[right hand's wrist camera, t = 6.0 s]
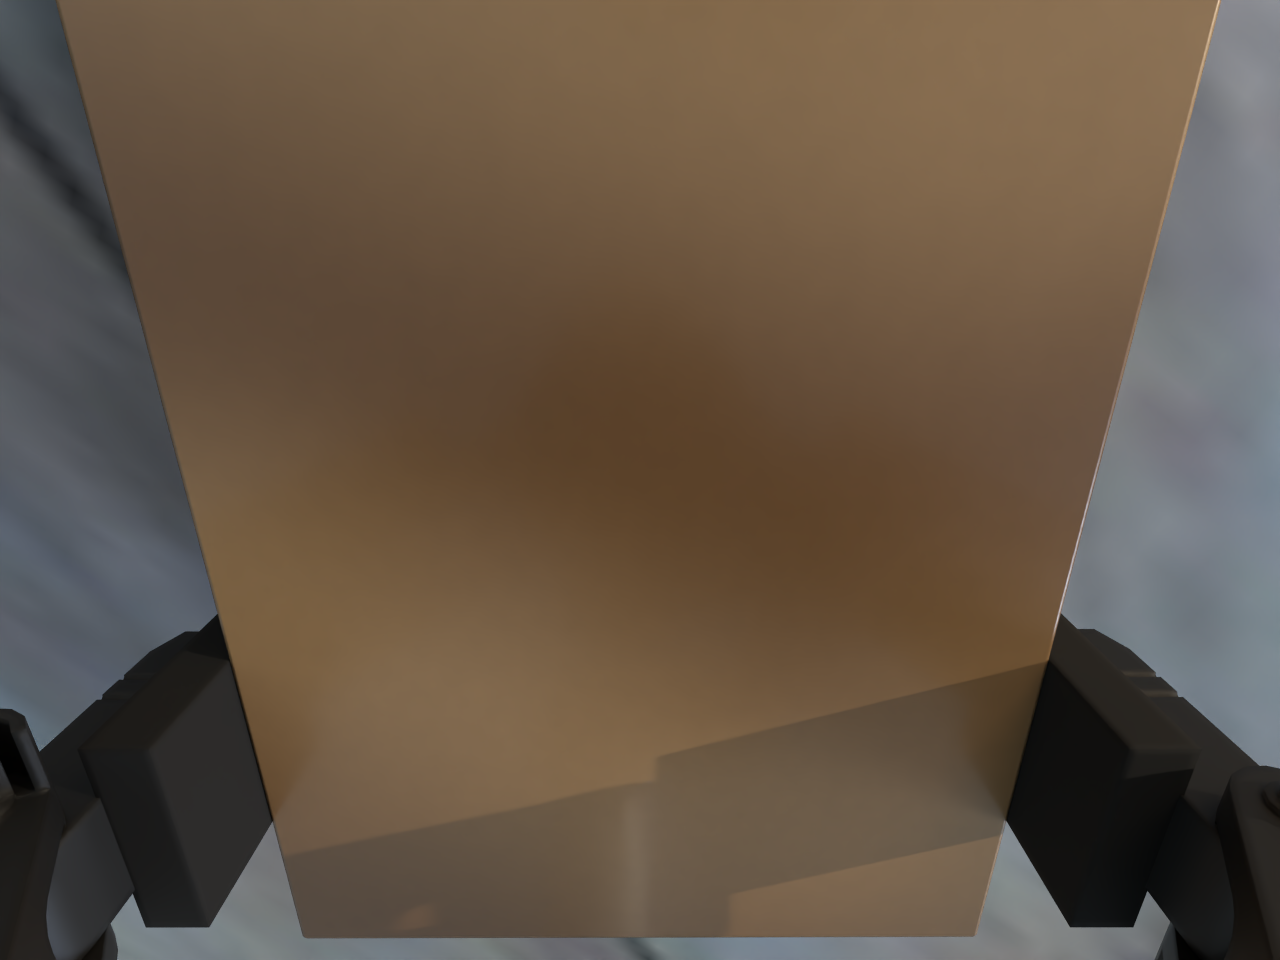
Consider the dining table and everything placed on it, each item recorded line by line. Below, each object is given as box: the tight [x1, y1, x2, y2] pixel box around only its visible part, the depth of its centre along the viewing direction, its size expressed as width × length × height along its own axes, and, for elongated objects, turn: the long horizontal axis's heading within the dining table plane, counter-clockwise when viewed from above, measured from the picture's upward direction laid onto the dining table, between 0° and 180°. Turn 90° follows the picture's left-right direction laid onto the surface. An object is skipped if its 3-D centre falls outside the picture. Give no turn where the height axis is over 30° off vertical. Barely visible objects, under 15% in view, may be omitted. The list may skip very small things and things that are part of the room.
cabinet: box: [56, 0, 1221, 938], centre depth 11 cm, size 18×10×8 cm, turn 0°
